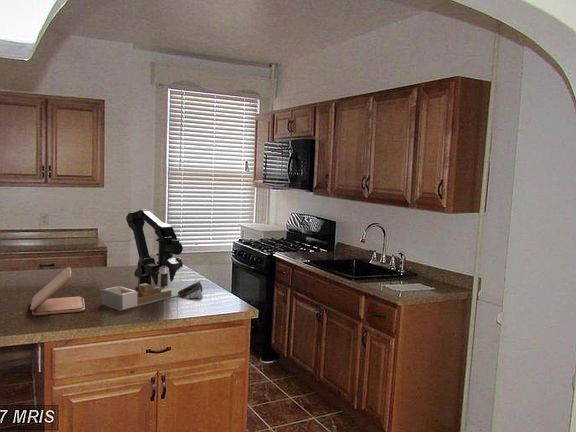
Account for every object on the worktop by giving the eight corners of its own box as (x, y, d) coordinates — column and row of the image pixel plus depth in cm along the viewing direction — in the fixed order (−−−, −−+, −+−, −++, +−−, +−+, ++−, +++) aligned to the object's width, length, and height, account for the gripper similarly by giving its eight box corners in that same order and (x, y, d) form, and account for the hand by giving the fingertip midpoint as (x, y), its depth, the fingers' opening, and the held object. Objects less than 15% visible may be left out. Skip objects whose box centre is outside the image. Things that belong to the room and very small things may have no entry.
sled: (138, 297, 230) (138, 277, 229) (163, 291, 242) (163, 272, 241) (145, 299, 227) (145, 279, 226) (169, 293, 239) (170, 274, 238)
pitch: (102, 304, 220) (102, 298, 219) (172, 288, 252) (172, 283, 251) (120, 310, 212) (120, 304, 212) (190, 293, 244) (190, 287, 244)
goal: (102, 303, 220) (102, 289, 219) (119, 299, 227) (119, 285, 226) (120, 310, 212) (120, 295, 211) (137, 305, 219) (137, 291, 218)
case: (32, 302, 218) (32, 267, 216) (84, 299, 227) (84, 264, 225) (29, 317, 200) (28, 278, 198) (85, 312, 208) (85, 275, 206)
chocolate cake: (178, 301, 232) (197, 284, 232) (176, 293, 238) (194, 276, 238) (192, 311, 237) (210, 295, 237) (189, 303, 243) (207, 287, 243)
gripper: (160, 256, 225) (159, 290, 226) (190, 251, 240) (189, 283, 241) (144, 253, 231) (144, 285, 233) (175, 248, 246) (174, 278, 248)
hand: (163, 283), depth 239 cm, fingers open, 9 cm apart
